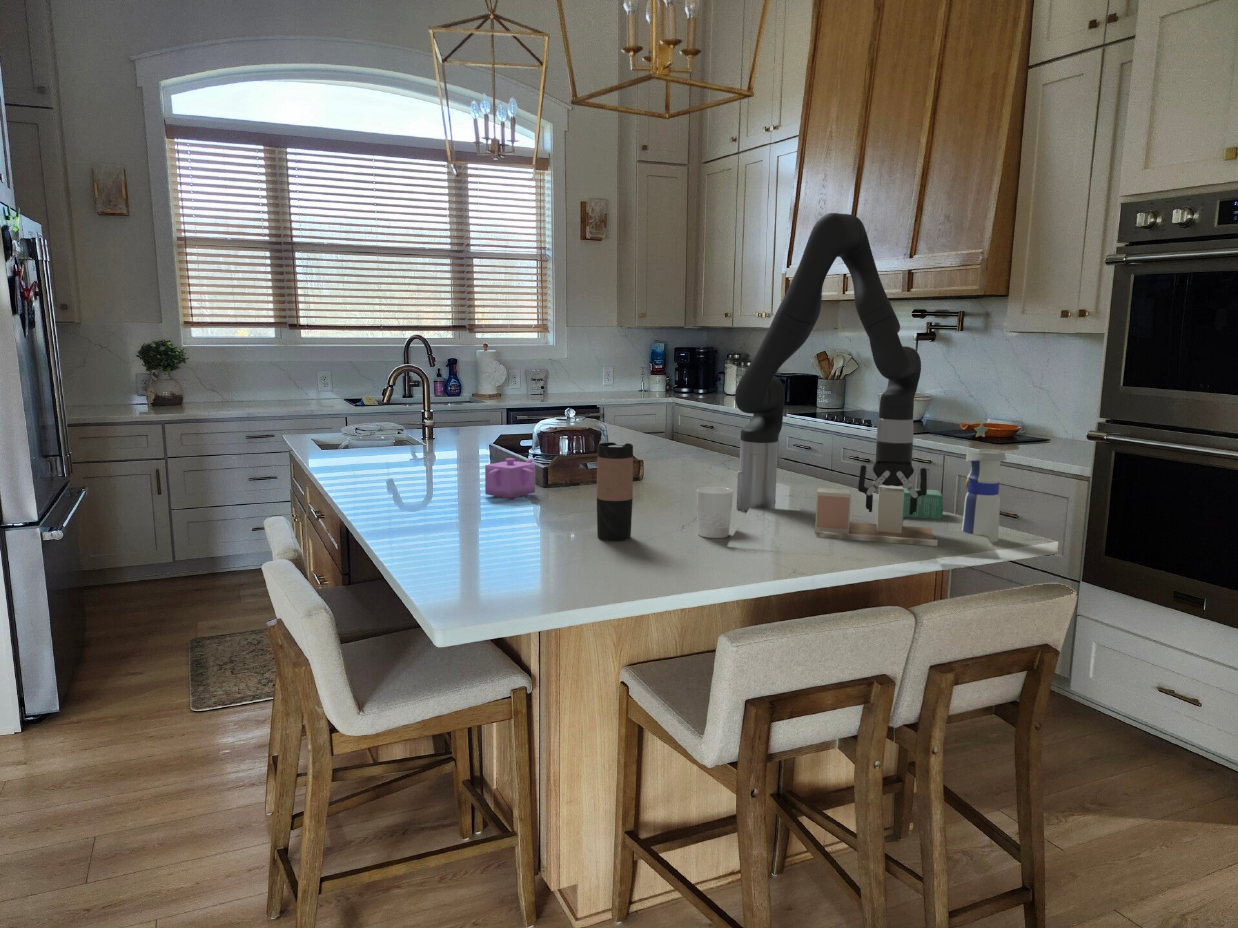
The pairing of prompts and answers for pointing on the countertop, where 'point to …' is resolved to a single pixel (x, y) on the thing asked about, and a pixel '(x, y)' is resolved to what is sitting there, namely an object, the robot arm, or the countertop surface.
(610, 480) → the travel mug
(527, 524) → the countertop surface
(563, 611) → the countertop surface
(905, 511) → the box
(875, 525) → the board
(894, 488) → the carton
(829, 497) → the faced carton
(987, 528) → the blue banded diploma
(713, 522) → the white cup
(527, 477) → the teapot
